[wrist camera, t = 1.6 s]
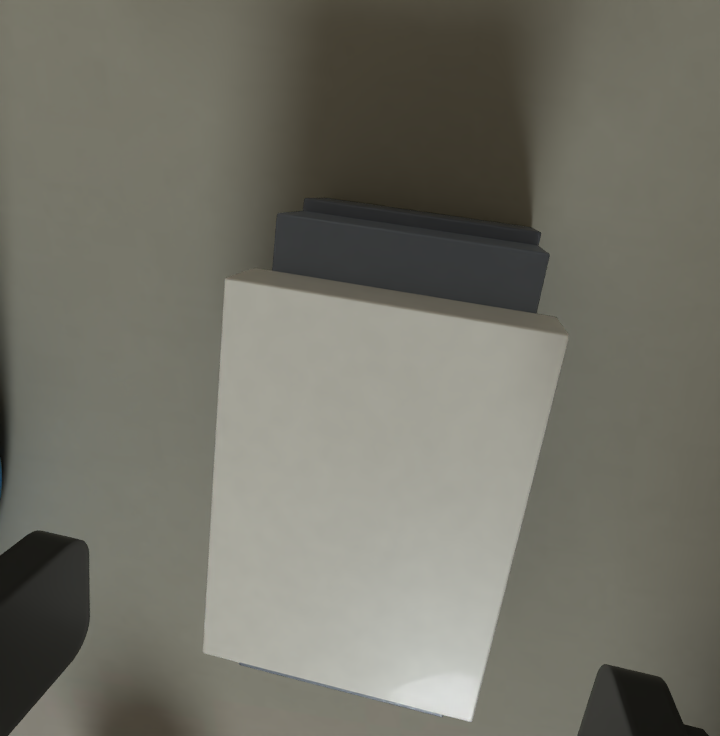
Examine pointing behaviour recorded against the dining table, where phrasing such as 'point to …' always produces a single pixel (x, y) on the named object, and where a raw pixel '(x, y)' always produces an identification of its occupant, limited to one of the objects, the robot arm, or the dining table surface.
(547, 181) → the dining table surface
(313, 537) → the white book
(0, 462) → the alarm clock
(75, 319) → the dining table surface
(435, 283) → the grey books
